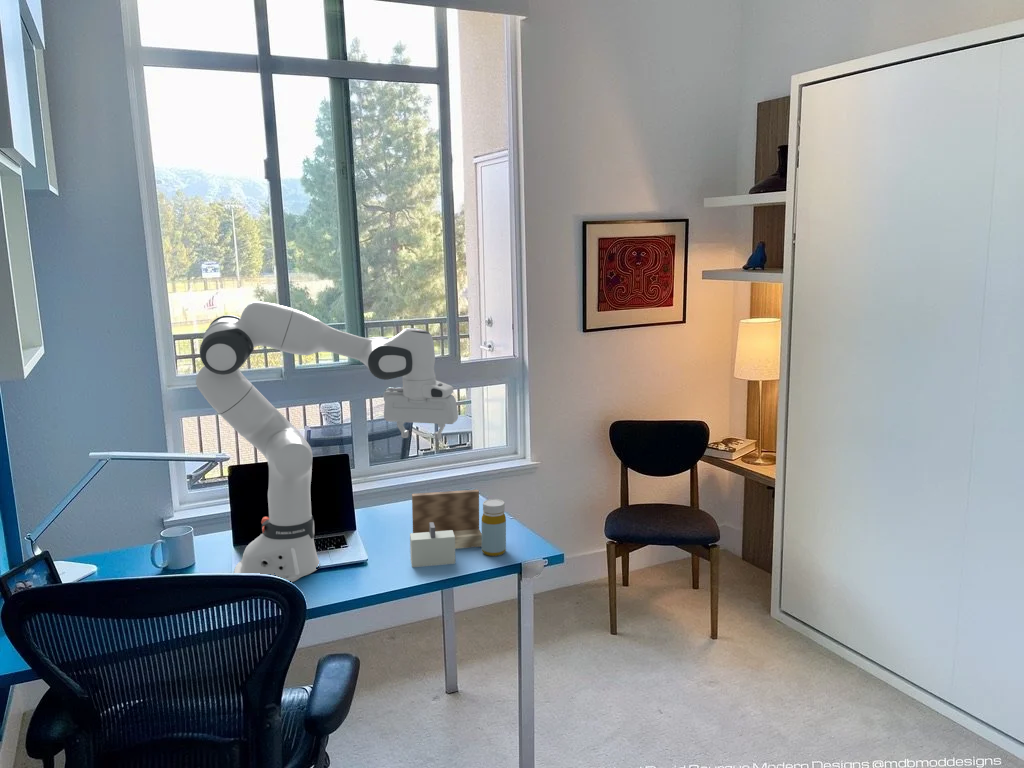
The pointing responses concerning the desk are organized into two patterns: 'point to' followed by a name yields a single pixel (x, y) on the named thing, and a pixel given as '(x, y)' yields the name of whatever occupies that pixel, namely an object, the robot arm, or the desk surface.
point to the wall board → (449, 515)
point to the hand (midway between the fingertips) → (421, 438)
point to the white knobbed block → (432, 547)
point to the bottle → (493, 527)
